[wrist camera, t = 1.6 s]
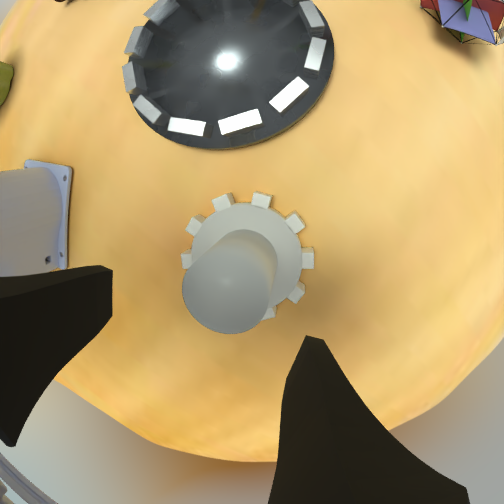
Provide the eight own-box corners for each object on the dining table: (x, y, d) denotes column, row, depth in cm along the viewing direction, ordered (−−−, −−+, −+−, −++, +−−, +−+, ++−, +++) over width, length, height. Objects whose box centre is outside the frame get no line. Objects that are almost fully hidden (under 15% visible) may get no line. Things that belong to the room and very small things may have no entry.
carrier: (304, 174, 16) (305, 174, 13) (114, 135, 17) (93, 132, 15) (346, 0, 11) (351, -18, 9) (168, -14, 13) (156, -28, 10)
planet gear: (289, 325, 19) (283, 385, 13) (180, 291, 20) (138, 335, 14) (329, 212, 16) (346, 234, 10) (202, 177, 17) (155, 181, 11)
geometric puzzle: (395, 9, 9) (505, 3, 3) (388, -44, 7) (475, -57, 1) (443, 60, 13) (528, 68, 6) (436, 5, 11) (510, 5, 4)
